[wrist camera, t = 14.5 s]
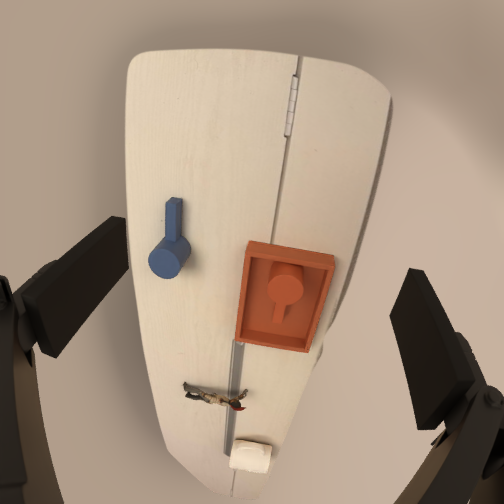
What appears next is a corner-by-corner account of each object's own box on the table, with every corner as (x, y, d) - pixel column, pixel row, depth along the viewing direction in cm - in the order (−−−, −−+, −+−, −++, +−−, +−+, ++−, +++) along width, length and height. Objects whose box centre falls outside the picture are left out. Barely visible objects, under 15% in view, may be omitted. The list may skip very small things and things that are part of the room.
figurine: (199, 380, 67) (259, 391, 60) (197, 396, 66) (257, 409, 59) (181, 380, 62) (245, 393, 55) (180, 398, 61) (243, 413, 54)
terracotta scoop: (293, 316, 50) (291, 337, 46) (262, 311, 51) (258, 332, 46) (306, 259, 45) (306, 278, 41) (273, 253, 46) (269, 271, 41)
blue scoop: (161, 195, 45) (146, 207, 40) (193, 199, 44) (181, 213, 40) (161, 258, 50) (148, 275, 45) (190, 264, 49) (179, 282, 45)
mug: (268, 454, 75) (264, 479, 68) (233, 448, 75) (228, 473, 68) (274, 434, 69) (271, 462, 62) (236, 428, 70) (230, 455, 63)
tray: (249, 240, 46) (245, 250, 43) (333, 255, 45) (335, 266, 42) (237, 328, 54) (234, 340, 51) (308, 340, 53) (308, 353, 50)
